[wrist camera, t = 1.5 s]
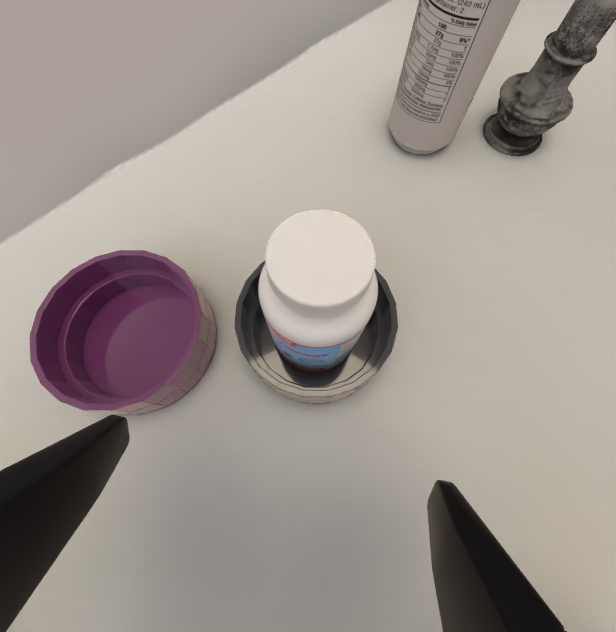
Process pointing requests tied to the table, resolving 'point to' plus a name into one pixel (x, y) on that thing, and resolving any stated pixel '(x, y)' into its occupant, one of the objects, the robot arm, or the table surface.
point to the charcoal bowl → (314, 385)
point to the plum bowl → (122, 334)
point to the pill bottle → (318, 287)
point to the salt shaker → (548, 80)
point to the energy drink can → (445, 68)
